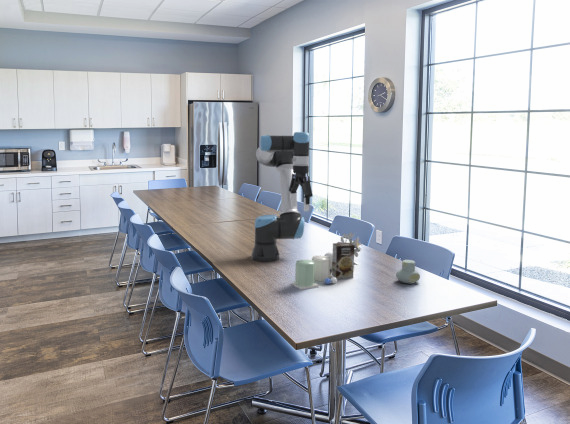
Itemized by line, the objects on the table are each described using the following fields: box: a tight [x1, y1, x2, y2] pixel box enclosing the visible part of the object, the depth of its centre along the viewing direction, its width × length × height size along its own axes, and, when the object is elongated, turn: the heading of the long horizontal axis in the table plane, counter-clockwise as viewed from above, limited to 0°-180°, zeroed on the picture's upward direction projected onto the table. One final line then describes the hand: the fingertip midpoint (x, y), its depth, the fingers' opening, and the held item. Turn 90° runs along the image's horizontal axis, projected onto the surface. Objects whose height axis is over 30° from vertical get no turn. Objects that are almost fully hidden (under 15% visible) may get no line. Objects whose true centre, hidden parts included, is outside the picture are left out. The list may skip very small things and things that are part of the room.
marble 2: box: [330, 276, 338, 285], centre depth 240 cm, size 3×3×3 cm
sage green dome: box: [294, 259, 316, 286], centre depth 236 cm, size 8×8×10 cm
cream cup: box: [311, 255, 331, 282], centre depth 247 cm, size 8×8×10 cm
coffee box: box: [331, 242, 356, 280], centre depth 250 cm, size 9×6×16 cm
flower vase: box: [323, 232, 363, 271], centre depth 267 cm, size 13×18×25 cm
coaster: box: [291, 280, 319, 291], centre depth 237 cm, size 9×9×1 cm
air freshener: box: [395, 259, 421, 285], centre depth 243 cm, size 11×8×10 cm
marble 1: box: [323, 278, 332, 285], centre depth 239 cm, size 3×3×3 cm
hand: (300, 208), depth 252 cm, fingers open, 13 cm apart
